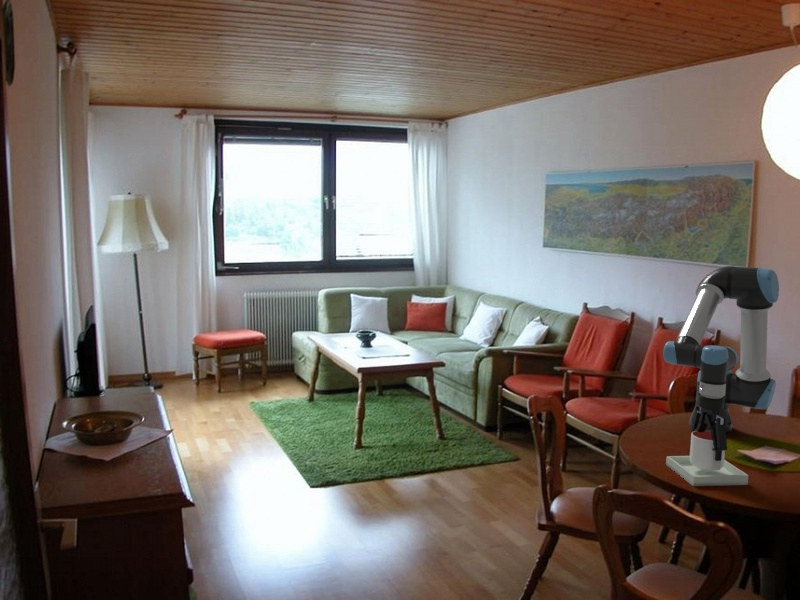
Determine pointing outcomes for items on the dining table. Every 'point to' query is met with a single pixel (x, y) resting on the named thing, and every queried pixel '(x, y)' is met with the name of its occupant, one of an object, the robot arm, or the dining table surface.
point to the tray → (706, 473)
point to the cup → (702, 450)
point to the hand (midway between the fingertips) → (706, 463)
